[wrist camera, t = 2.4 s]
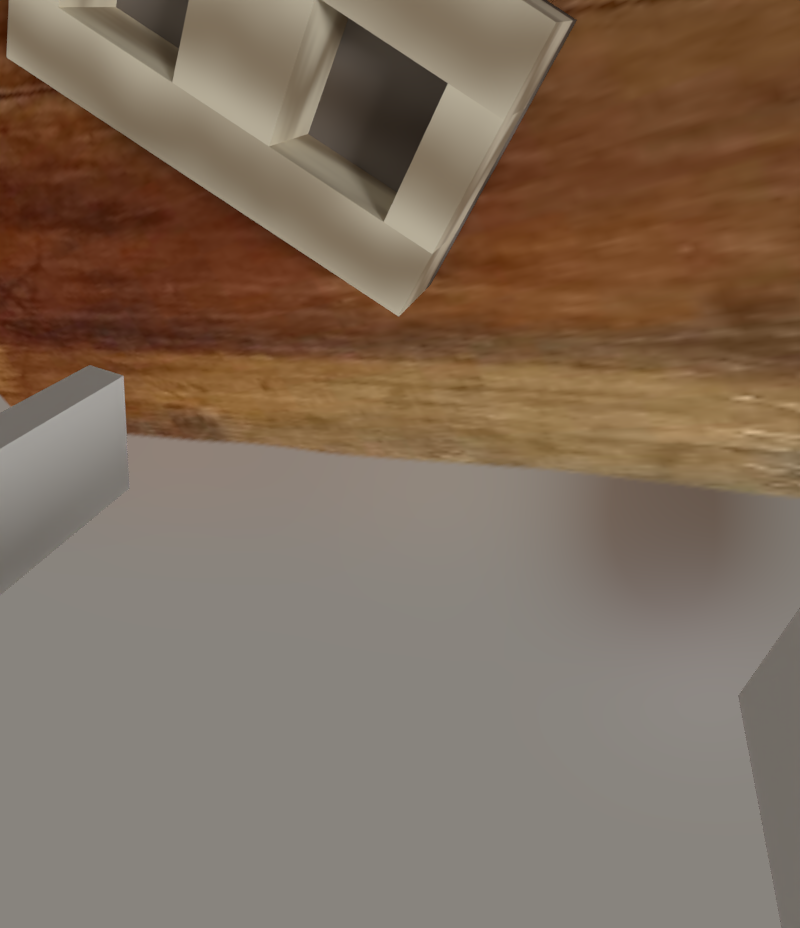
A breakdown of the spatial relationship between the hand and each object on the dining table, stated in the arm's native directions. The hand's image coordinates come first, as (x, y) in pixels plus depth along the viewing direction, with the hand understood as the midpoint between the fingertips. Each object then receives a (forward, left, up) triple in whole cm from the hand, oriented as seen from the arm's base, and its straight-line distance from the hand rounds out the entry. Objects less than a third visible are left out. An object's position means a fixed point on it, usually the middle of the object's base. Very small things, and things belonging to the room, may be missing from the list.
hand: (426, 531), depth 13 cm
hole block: (+1, -17, -26) cm, 31 cm away
